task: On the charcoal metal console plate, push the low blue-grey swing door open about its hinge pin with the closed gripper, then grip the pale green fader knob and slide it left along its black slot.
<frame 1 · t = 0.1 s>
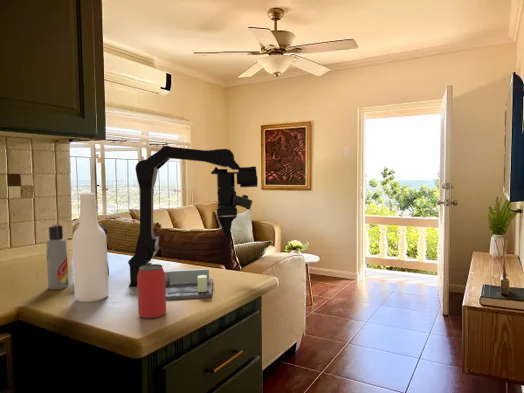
hand: (227, 235, 124), 15 cm above the worktop, tool pointing down, fingers open, 9 cm apart
lotion bottle: (58, 287, 120), on the worktop
fader knob: (202, 283, 108), point 3 cm above the worktop, slide at 0.0 cm
coffee jar: (94, 279, 130), on the worktop
console: (186, 290, 112), on the worktop
alcohol: (92, 298, 108), on the worktop
beer can: (152, 315, 93), on the worktop
door: (186, 276, 117), point 3 cm above the worktop, hinge at 0.0°
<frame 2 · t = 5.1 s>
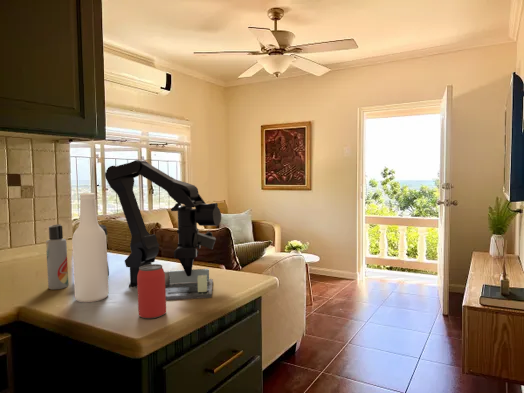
hand: (189, 276, 116), 3 cm above the worktop, tool pointing down, fingers closed
door: (186, 276, 117), point 3 cm above the worktop, hinge at 0.5°, touching gripper
everything else where it was.
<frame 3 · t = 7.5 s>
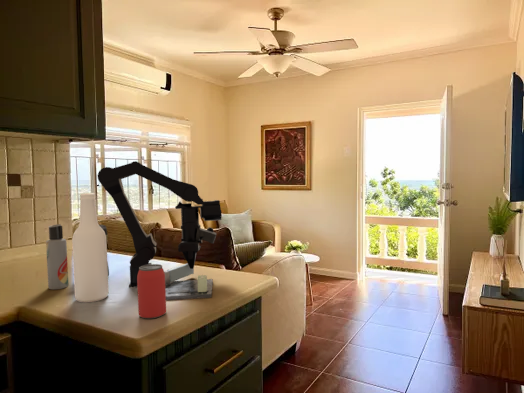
hand: (192, 268, 125), 4 cm above the worktop, tool pointing down, fingers closed
door: (179, 272, 122), point 3 cm above the worktop, hinge at 58.0°, touching gripper
everything else where it was.
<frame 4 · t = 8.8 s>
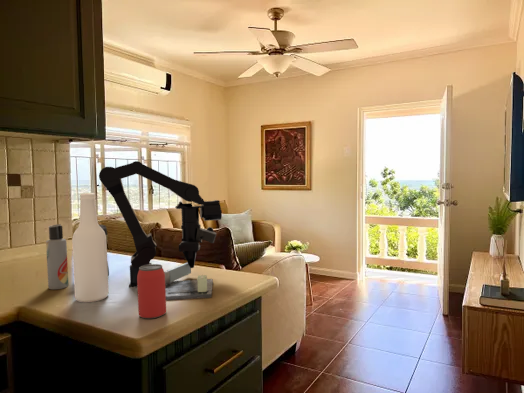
hand: (192, 267, 127), 4 cm above the worktop, tool pointing down, fingers closed
door: (177, 272, 122), point 3 cm above the worktop, hinge at 62.8°, touching gripper
everything else where it was.
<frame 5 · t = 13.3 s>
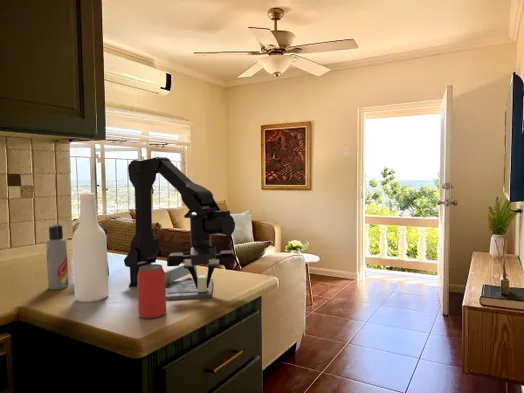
hand: (202, 287, 108), 2 cm above the worktop, tool pointing down, fingers closed on fader knob, 2 cm apart
fader knob: (202, 283, 108), point 3 cm above the worktop, slide at 0.0 cm, touching gripper
door: (177, 272, 122), point 3 cm above the worktop, hinge at 63.1°
everything else where it was.
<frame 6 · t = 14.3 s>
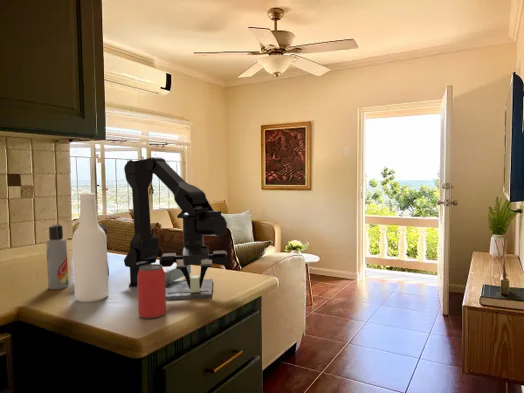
hand: (195, 288, 108), 2 cm above the worktop, tool pointing down, fingers closed on fader knob, 2 cm apart
fader knob: (195, 283, 108), point 3 cm above the worktop, slide at 2.0 cm, touching gripper
everything else where it was.
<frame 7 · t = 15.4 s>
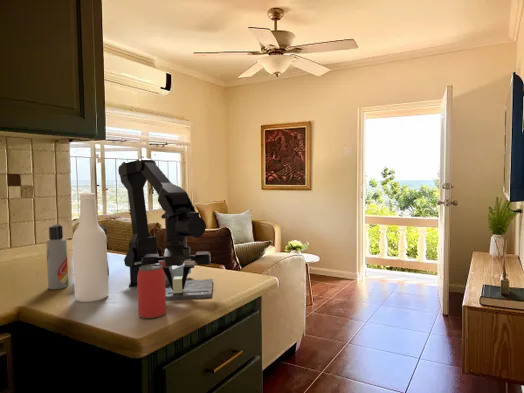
hand: (178, 289, 107), 2 cm above the worktop, tool pointing down, fingers closed on fader knob, 2 cm apart
fader knob: (177, 284, 107), point 3 cm above the worktop, slide at 6.9 cm, touching gripper
everything else where it was.
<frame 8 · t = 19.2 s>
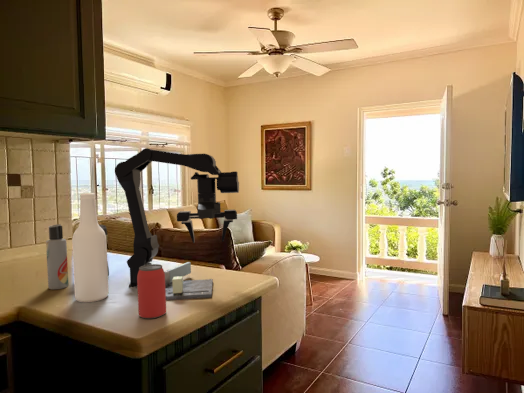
hand: (208, 242, 120), 13 cm above the worktop, tool pointing down, fingers open, 9 cm apart
fader knob: (177, 284, 107), point 3 cm above the worktop, slide at 6.9 cm
everything else where it was.
at the end: door at +63° (first picture: +0°); fader knob slide at 6.9 cm; the gripper is holding nothing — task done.
